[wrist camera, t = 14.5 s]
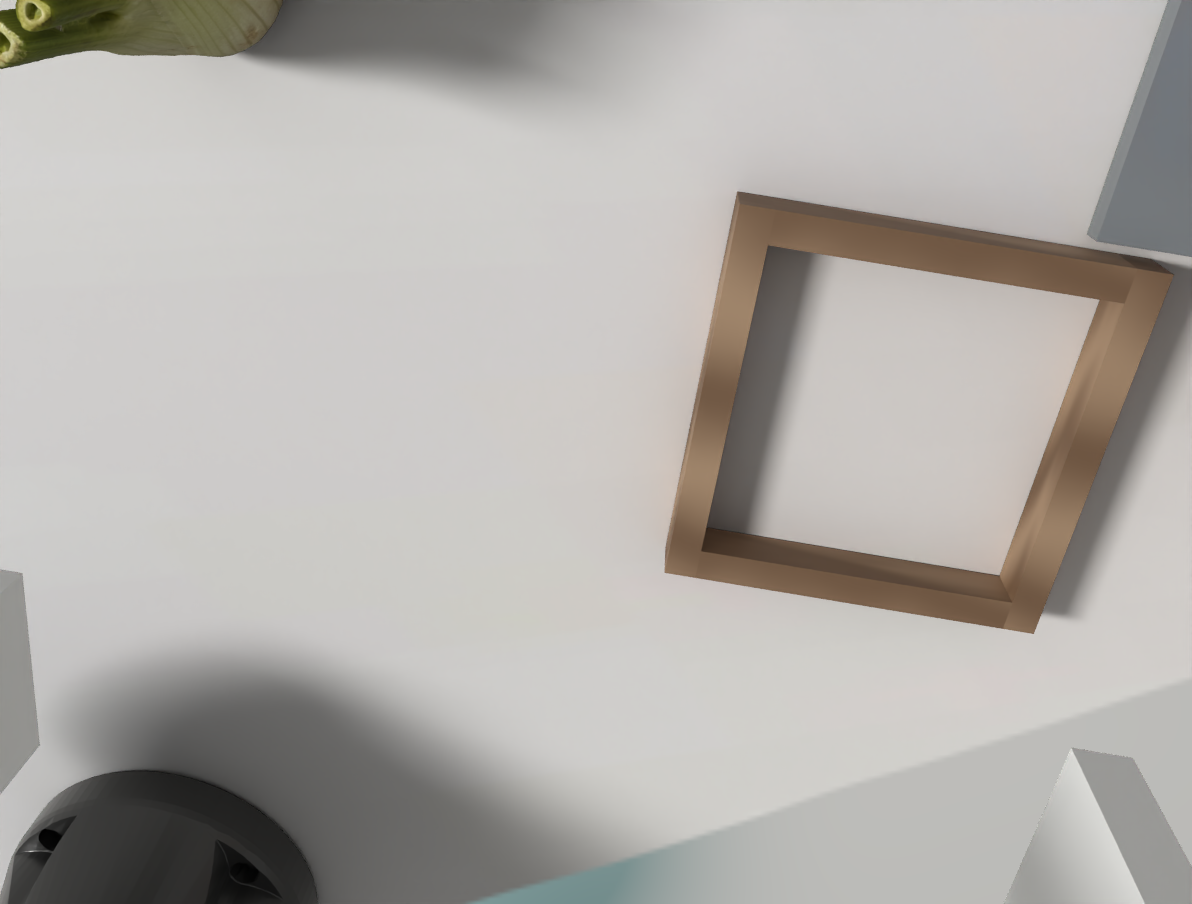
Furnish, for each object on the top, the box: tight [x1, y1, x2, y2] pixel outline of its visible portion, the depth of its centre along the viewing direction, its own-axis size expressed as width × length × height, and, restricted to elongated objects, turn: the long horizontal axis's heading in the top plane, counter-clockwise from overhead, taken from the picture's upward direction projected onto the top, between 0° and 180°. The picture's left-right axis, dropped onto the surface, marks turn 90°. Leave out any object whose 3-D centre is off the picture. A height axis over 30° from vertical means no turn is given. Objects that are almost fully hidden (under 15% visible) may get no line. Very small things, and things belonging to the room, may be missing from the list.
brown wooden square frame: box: [665, 192, 1174, 634], centre depth 41 cm, size 15×15×2 cm
